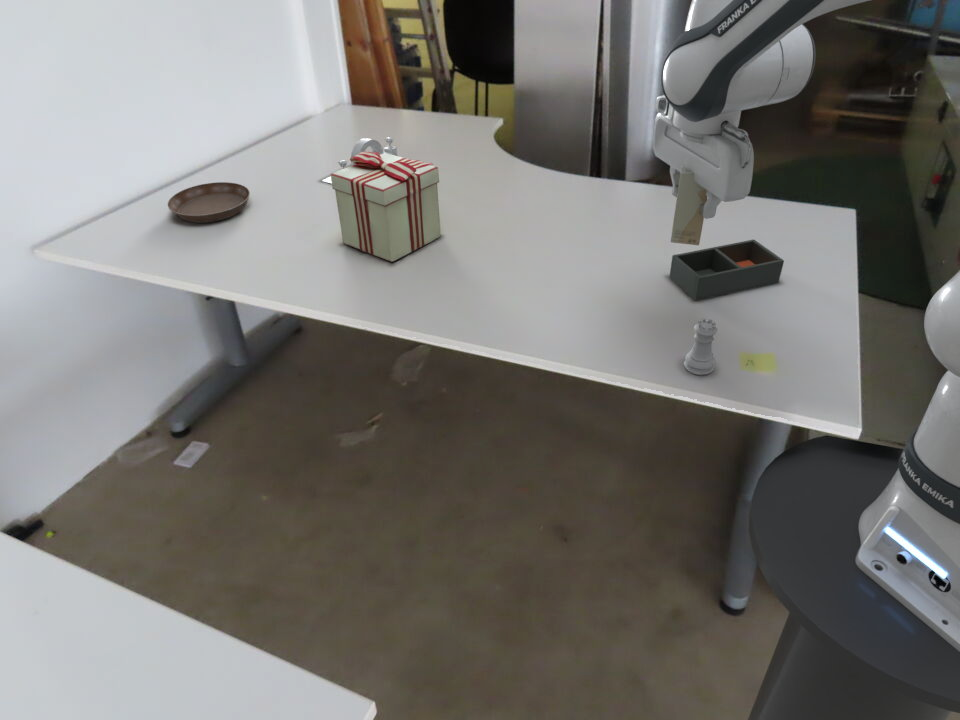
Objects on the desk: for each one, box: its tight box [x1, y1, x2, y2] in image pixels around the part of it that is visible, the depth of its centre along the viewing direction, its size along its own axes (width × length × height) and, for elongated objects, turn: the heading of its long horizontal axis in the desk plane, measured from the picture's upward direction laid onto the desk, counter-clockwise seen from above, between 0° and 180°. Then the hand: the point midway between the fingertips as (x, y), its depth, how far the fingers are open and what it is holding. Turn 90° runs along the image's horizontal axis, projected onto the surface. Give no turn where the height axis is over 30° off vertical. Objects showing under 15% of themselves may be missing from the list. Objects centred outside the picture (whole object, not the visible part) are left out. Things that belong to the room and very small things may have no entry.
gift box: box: [330, 151, 442, 263], centre depth 139 cm, size 17×18×17 cm
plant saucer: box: [167, 181, 251, 224], centre depth 157 cm, size 18×18×3 cm
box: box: [670, 166, 708, 246], centre depth 104 cm, size 5×4×11 cm
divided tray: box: [669, 239, 785, 301], centre depth 124 cm, size 9×17×4 cm, turn 108°
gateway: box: [321, 136, 398, 184], centre depth 171 cm, size 20×2×8 cm, turn 147°
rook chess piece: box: [683, 318, 718, 376], centre depth 103 cm, size 4×4×8 cm
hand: (692, 206), depth 104 cm, fingers closed on box, 6 cm apart
